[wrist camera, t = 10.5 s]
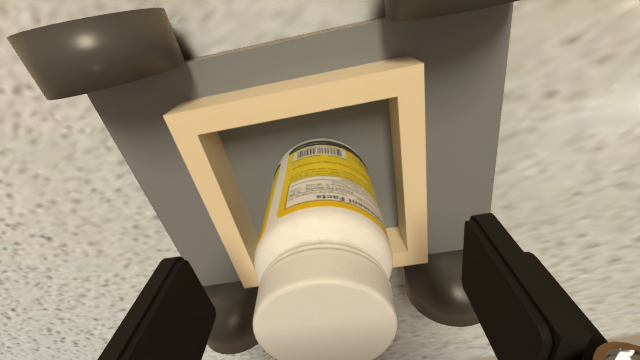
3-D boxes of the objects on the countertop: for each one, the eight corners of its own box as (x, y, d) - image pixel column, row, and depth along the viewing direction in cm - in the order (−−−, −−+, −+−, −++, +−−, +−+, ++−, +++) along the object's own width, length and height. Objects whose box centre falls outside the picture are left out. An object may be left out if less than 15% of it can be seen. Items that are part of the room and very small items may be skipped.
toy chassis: (499, -67, 12) (605, -110, 7) (473, 252, 20) (515, 320, 16) (78, 32, 13) (-37, 45, 9) (217, 288, 22) (191, 359, 17)
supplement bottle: (321, 230, 17) (322, 396, 10) (256, 179, 15) (199, 334, 8) (387, 178, 15) (447, 333, 8) (322, 115, 14) (325, 238, 6)
